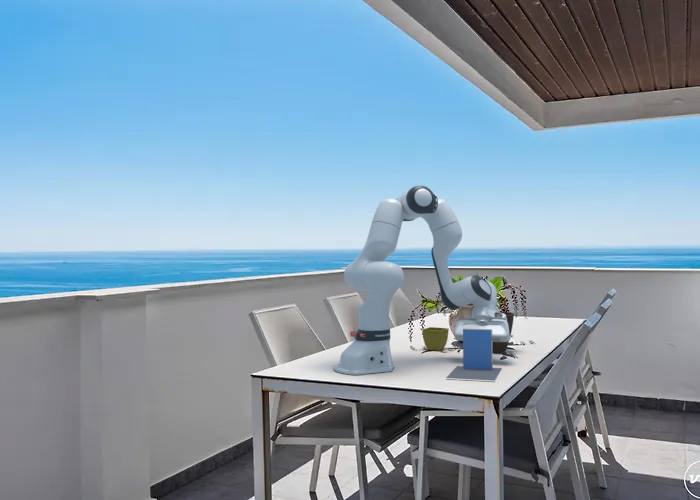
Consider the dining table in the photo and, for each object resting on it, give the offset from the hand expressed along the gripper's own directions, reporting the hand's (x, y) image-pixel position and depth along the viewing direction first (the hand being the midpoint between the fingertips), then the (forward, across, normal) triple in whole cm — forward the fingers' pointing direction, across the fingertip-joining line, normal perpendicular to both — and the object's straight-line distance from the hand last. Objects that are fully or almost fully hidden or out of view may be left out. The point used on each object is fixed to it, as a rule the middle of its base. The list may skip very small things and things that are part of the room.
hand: (480, 349), depth 236 cm
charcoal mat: (+14, 0, -5) cm, 15 cm away
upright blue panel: (+9, 0, 0) cm, 9 cm away
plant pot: (-20, +2, +30) cm, 36 cm away
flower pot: (-19, -23, +29) cm, 42 cm away
